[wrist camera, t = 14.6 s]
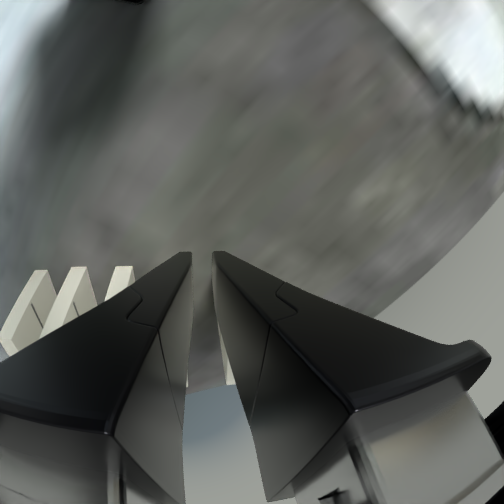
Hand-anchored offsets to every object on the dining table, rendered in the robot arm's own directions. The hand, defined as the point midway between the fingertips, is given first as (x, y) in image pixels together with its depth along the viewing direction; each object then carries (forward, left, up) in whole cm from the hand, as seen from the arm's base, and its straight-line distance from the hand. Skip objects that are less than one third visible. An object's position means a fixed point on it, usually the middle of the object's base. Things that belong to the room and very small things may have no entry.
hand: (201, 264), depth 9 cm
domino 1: (-10, -16, -13) cm, 23 cm away
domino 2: (-6, -15, -13) cm, 20 cm away
